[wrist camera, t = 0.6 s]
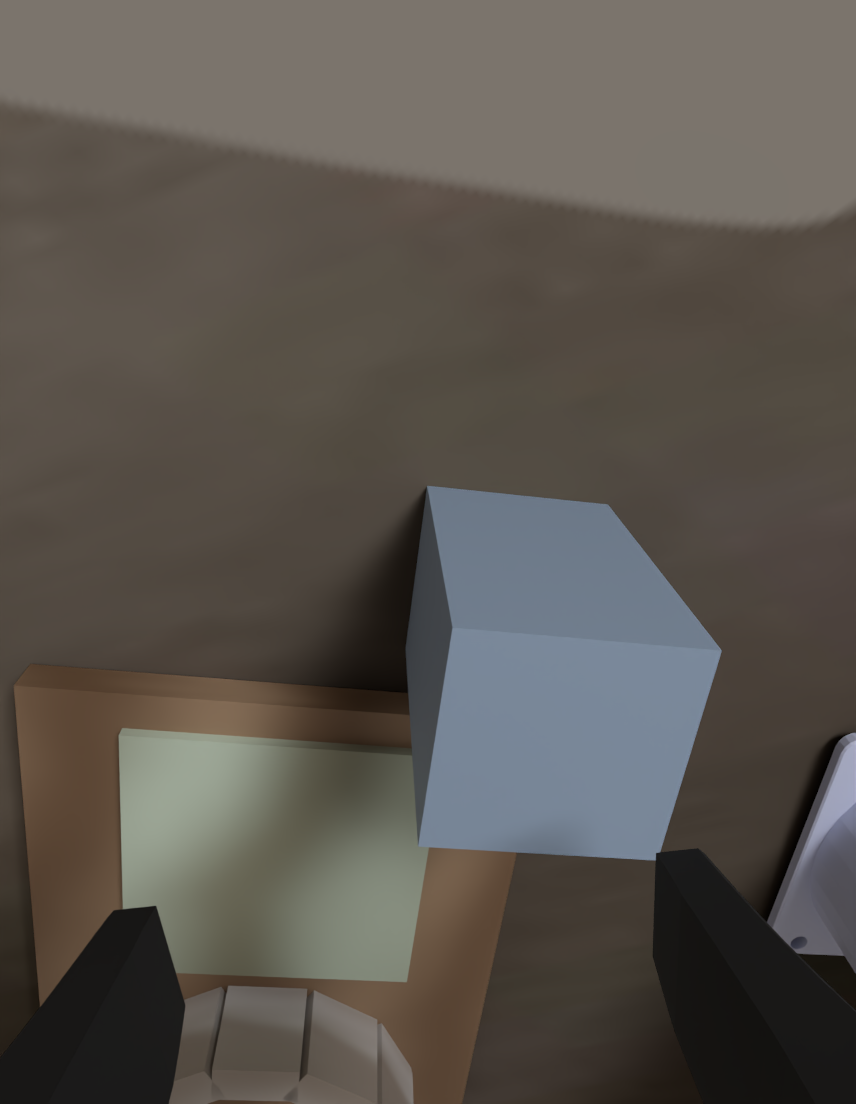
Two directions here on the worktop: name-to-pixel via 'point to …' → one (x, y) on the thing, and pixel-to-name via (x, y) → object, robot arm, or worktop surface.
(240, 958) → the board
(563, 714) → the peg block
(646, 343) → the worktop surface
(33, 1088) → the robot arm
